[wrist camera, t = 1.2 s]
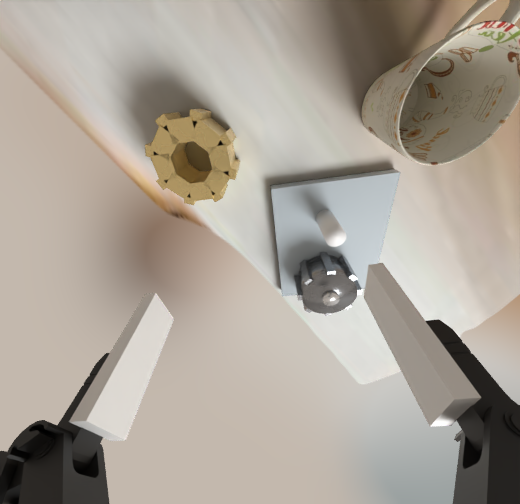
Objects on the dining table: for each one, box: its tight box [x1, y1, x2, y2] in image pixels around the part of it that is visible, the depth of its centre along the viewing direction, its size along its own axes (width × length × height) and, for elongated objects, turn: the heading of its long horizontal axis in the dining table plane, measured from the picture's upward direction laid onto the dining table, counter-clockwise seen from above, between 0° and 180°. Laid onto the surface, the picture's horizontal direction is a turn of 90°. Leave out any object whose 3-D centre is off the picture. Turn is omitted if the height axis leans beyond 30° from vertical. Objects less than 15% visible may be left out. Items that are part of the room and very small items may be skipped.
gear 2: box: [294, 252, 362, 315], centre depth 33 cm, size 9×9×6 cm
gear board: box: [271, 169, 400, 296], centre depth 31 cm, size 20×16×7 cm
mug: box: [362, 0, 520, 165], centre depth 18 cm, size 8×13×10 cm, turn 156°
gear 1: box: [145, 109, 240, 205], centre depth 24 cm, size 9×9×5 cm
